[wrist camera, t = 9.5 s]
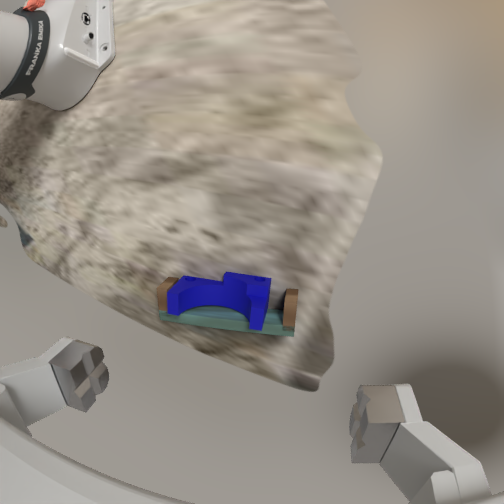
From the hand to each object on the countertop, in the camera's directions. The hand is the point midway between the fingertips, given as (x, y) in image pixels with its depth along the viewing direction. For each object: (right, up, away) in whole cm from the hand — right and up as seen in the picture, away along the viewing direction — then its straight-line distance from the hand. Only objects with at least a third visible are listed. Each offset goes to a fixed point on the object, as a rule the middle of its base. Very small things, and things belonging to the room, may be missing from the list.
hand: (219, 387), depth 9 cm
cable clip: (-3, -1, +34) cm, 34 cm away
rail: (-2, -2, +34) cm, 34 cm away
